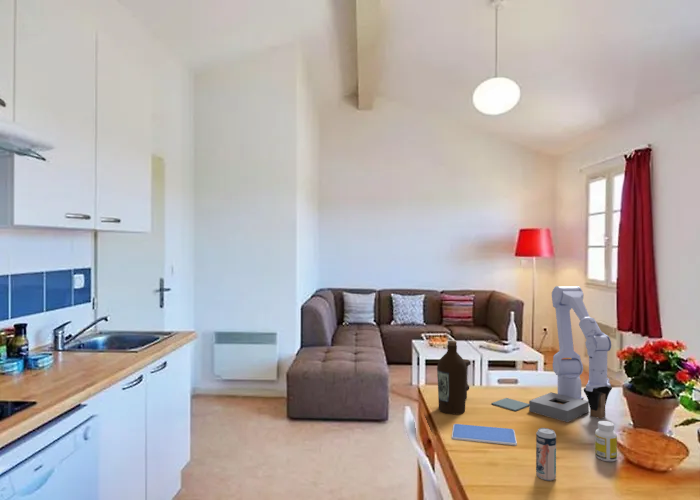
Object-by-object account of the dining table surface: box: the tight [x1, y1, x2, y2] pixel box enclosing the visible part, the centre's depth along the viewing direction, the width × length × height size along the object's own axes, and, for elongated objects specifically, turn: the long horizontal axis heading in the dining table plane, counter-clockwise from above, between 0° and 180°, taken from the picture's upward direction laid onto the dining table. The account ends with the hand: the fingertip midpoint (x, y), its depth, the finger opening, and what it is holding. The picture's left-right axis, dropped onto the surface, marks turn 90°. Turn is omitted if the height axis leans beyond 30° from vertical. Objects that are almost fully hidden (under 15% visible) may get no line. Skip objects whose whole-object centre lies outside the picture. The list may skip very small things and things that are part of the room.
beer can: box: [535, 427, 557, 481], centre depth 123 cm, size 5×5×12 cm
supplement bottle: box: [594, 420, 618, 462], centre depth 134 cm, size 5×5×10 cm
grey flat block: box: [528, 391, 590, 423], centre depth 173 cm, size 16×14×4 cm
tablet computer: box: [450, 423, 518, 446], centre depth 151 cm, size 19×13×1 cm, turn 75°
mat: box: [491, 397, 529, 412], centre depth 180 cm, size 10×10×1 cm
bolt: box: [462, 358, 472, 400], centre depth 187 cm, size 6×5×15 cm
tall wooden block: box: [589, 393, 606, 420], centre depth 168 cm, size 4×4×8 cm
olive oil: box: [436, 340, 468, 415], centre depth 174 cm, size 11×11×25 cm
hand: (597, 407), depth 168 cm, fingers open, 6 cm apart
